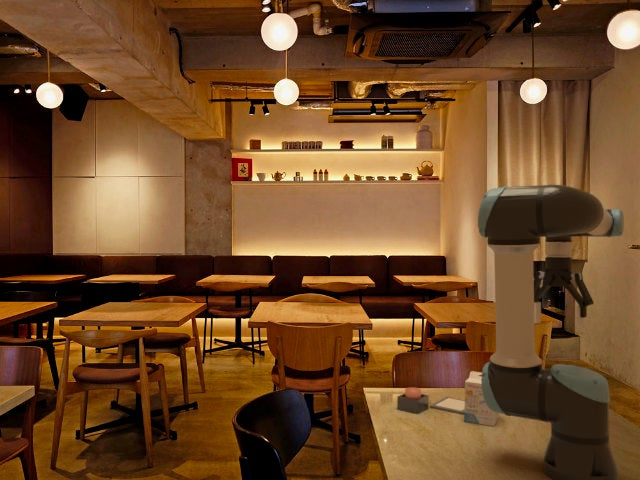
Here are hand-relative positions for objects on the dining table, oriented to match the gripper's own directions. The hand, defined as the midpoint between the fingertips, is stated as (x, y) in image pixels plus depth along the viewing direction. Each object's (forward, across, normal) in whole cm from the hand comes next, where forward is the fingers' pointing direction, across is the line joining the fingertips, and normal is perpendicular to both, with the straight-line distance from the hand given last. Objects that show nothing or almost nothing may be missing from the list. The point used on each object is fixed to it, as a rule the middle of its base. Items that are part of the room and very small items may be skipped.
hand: (558, 325), depth 165 cm
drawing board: (+26, +22, +22) cm, 40 cm away
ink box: (+26, +9, +26) cm, 38 cm away
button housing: (+26, +28, +34) cm, 51 cm away
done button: (+24, +28, +34) cm, 50 cm away
